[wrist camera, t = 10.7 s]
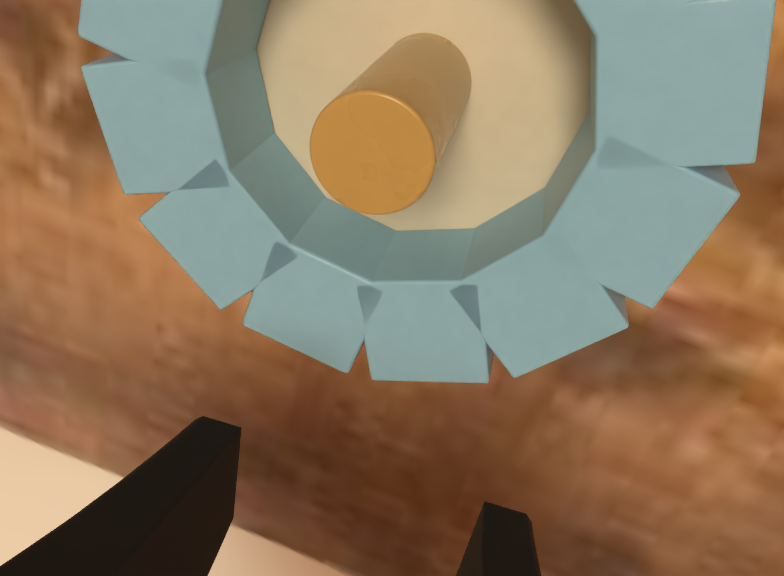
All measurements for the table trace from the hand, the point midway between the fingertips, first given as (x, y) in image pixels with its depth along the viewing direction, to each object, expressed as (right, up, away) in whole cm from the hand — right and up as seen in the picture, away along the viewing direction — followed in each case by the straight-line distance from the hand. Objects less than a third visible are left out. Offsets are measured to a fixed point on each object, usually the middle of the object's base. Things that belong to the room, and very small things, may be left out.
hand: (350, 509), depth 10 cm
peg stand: (+2, +8, +5) cm, 10 cm away
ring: (+1, +8, +4) cm, 9 cm away
